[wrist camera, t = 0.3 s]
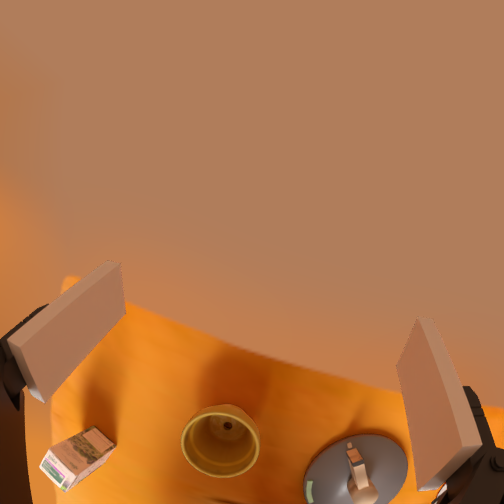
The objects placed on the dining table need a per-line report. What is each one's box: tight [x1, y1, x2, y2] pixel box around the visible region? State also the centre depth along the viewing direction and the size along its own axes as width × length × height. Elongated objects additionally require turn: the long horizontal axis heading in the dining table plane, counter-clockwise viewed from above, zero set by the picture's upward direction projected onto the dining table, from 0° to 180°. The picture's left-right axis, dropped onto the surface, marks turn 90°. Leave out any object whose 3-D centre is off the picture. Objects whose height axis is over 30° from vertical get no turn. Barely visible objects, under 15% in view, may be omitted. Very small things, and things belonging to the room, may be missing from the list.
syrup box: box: [39, 426, 116, 492], centre depth 37 cm, size 6×6×14 cm
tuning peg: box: [346, 448, 379, 504], centre depth 37 cm, size 10×4×5 cm, turn 16°
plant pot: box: [181, 404, 260, 478], centre depth 39 cm, size 10×10×10 cm
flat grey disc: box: [303, 434, 408, 504], centre depth 40 cm, size 18×18×2 cm
